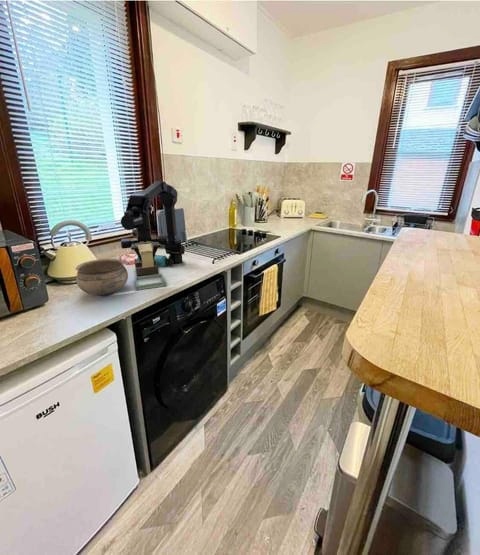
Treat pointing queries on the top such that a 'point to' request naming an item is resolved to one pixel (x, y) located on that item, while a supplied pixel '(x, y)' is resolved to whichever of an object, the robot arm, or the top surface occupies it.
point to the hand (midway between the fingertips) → (147, 261)
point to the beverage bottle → (161, 260)
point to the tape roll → (147, 259)
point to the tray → (150, 284)
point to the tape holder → (146, 269)
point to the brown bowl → (101, 276)
